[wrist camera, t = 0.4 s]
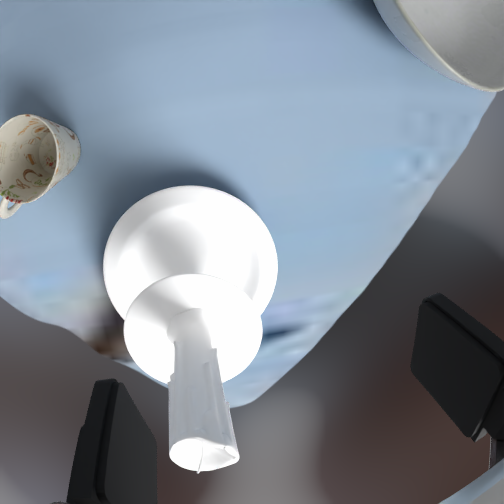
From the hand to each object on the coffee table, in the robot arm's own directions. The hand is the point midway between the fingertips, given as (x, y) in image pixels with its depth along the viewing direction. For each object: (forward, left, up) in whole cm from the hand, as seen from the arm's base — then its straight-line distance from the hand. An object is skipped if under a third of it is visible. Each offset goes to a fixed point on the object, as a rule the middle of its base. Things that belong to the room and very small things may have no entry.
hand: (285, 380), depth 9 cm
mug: (+6, -19, -31) cm, 37 cm away
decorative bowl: (-39, +10, -31) cm, 51 cm away
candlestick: (+11, +3, -31) cm, 33 cm away
